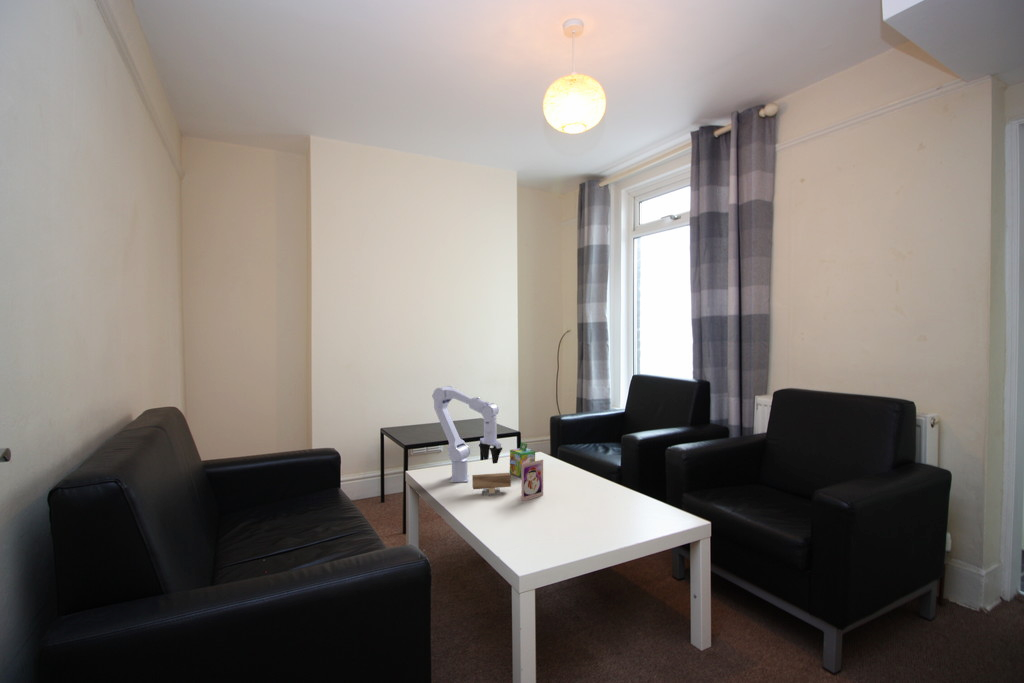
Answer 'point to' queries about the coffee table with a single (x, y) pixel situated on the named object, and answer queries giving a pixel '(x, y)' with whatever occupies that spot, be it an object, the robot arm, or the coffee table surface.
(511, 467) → the chalk box
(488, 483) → the batten
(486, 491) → the fulcrum
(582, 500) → the coffee table surface
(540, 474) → the greeting card
